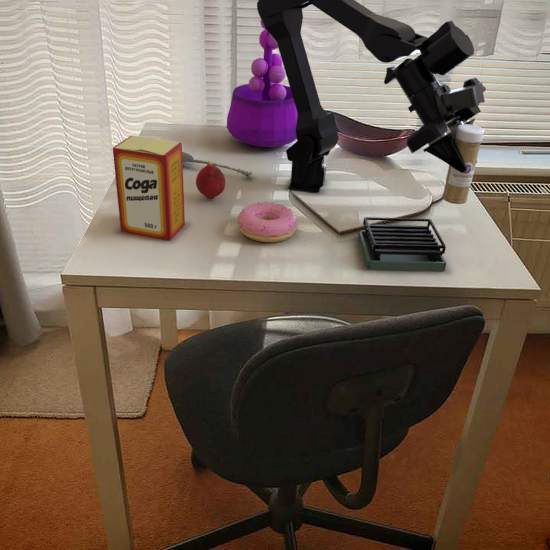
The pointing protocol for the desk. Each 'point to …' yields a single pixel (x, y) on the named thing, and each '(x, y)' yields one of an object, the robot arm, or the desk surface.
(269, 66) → the decorative plant
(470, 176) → the sprinkles bottle
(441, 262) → the drip tray
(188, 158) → the soupspoon
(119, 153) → the baking soda box
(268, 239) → the doughnut
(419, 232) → the rack
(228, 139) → the desk surface
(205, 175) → the onion
